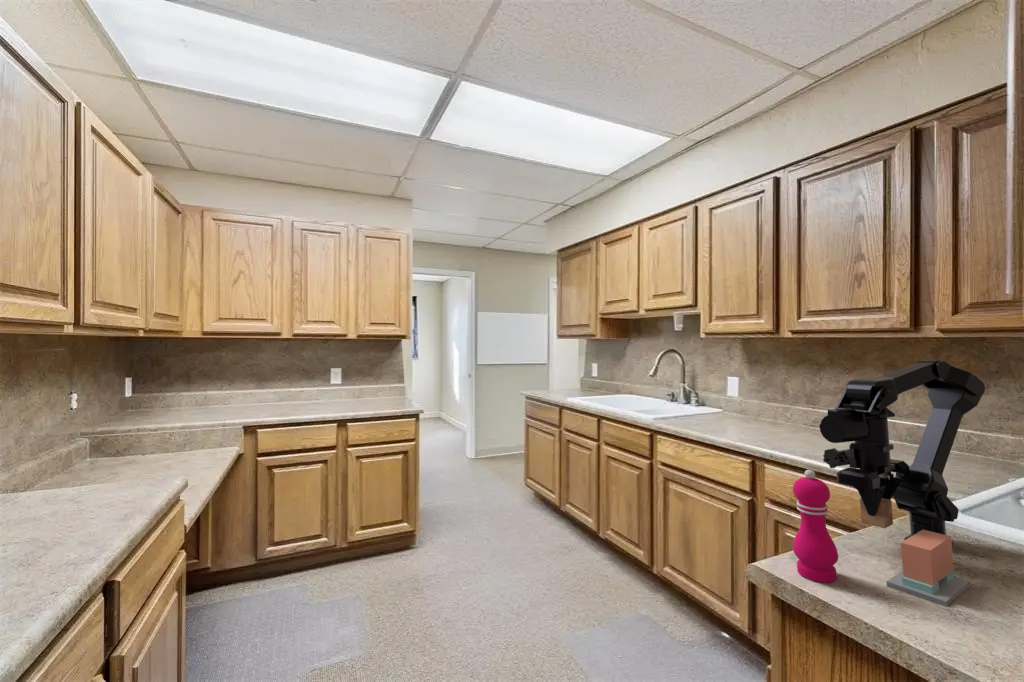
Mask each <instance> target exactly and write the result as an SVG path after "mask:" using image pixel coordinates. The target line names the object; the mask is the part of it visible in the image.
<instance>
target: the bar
mask: <svg viewBox="0 0 1024 682" xmlns="http://www.w3.org/2000/svg"><path fill="white" fill-rule="evenodd" d="M952 541H953V540H952V535H947V534H946V535H943V534H939V533H935V532H931V531H927V530H921V531H919V532H918V533H916V534H914V535H913V536H911V537H909V538H908V539H906V540H904V539H903V541H901V542H900V547H901V559H902V560H901V561H902V564H901V565H902V571H903V577H906V578H910V579H913V580H916V581H919V582H922V583H925V584H928V585H931V586H934V585H935V584H936V583H937V582H939V581H940V580H941V579H943V578H944V577H945V576H946V575H948V574H949V573H950V572H951V571H953V572H954V570H955V568H954V566H955V565H954V554H953V544H952Z"/></svg>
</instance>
